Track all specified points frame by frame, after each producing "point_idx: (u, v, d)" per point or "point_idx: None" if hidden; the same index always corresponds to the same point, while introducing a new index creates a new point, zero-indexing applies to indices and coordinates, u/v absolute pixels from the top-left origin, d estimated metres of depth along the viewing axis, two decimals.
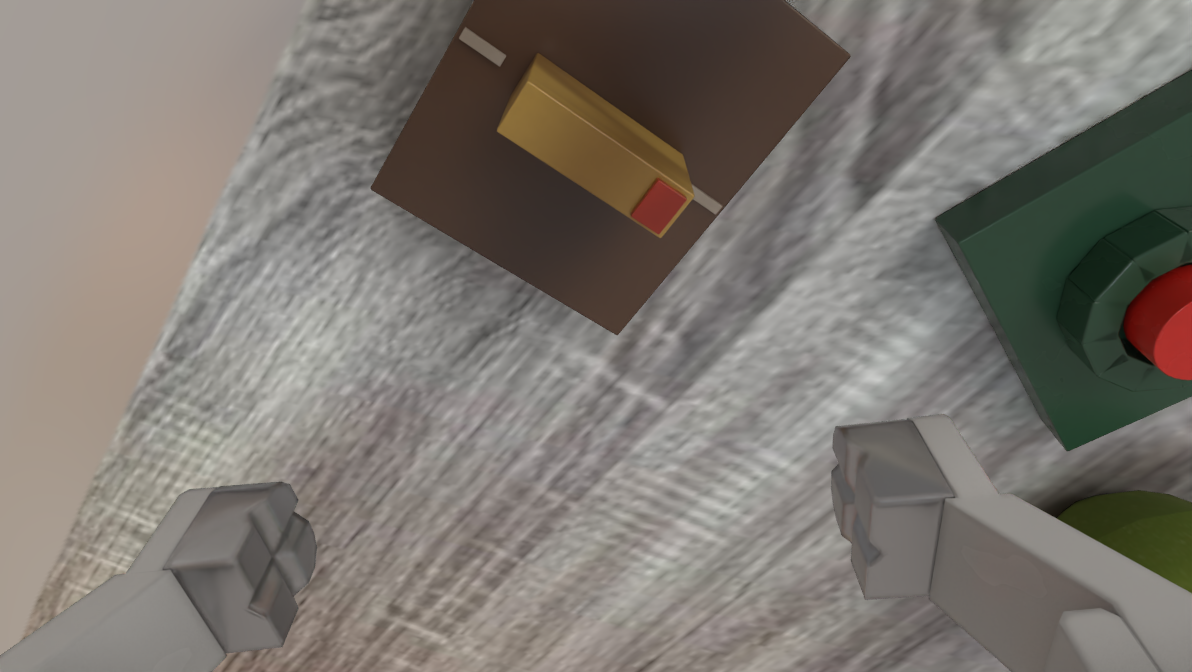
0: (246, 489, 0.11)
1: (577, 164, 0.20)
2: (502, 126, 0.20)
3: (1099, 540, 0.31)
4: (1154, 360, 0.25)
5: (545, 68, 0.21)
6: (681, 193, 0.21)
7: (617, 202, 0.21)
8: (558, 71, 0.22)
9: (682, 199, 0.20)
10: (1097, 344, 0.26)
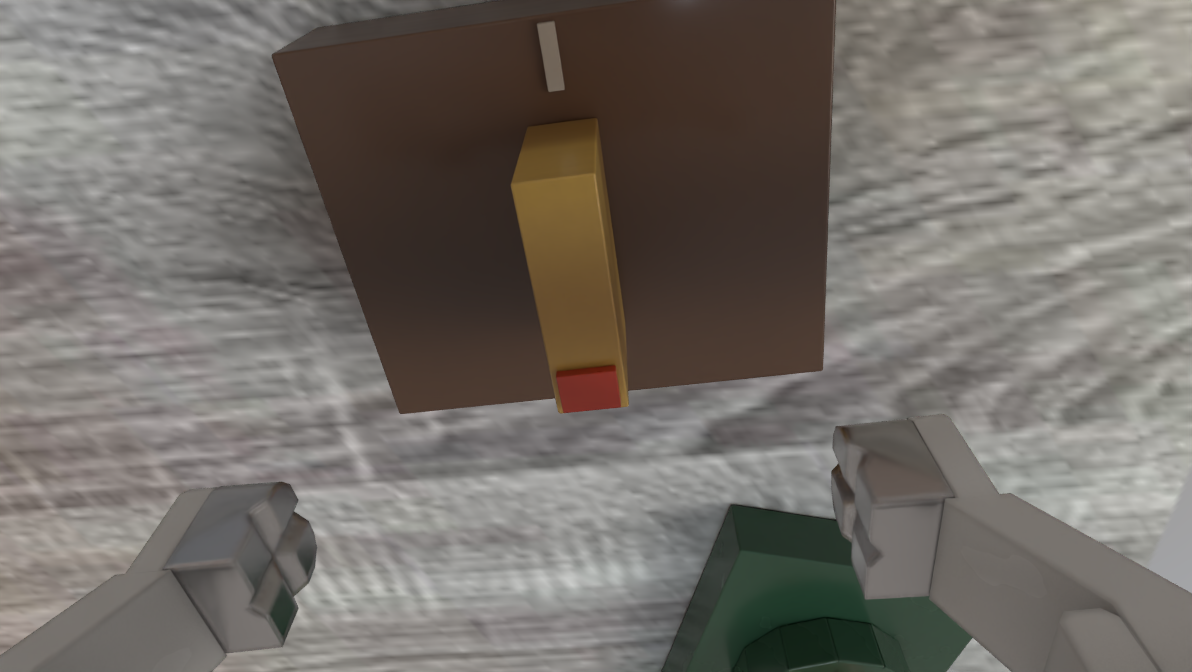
0: (246, 489, 0.11)
1: (556, 288, 0.15)
2: (521, 186, 0.14)
3: None
4: None
5: (599, 150, 0.16)
6: (620, 394, 0.16)
7: (555, 352, 0.16)
8: (601, 158, 0.16)
9: (617, 403, 0.16)
10: None
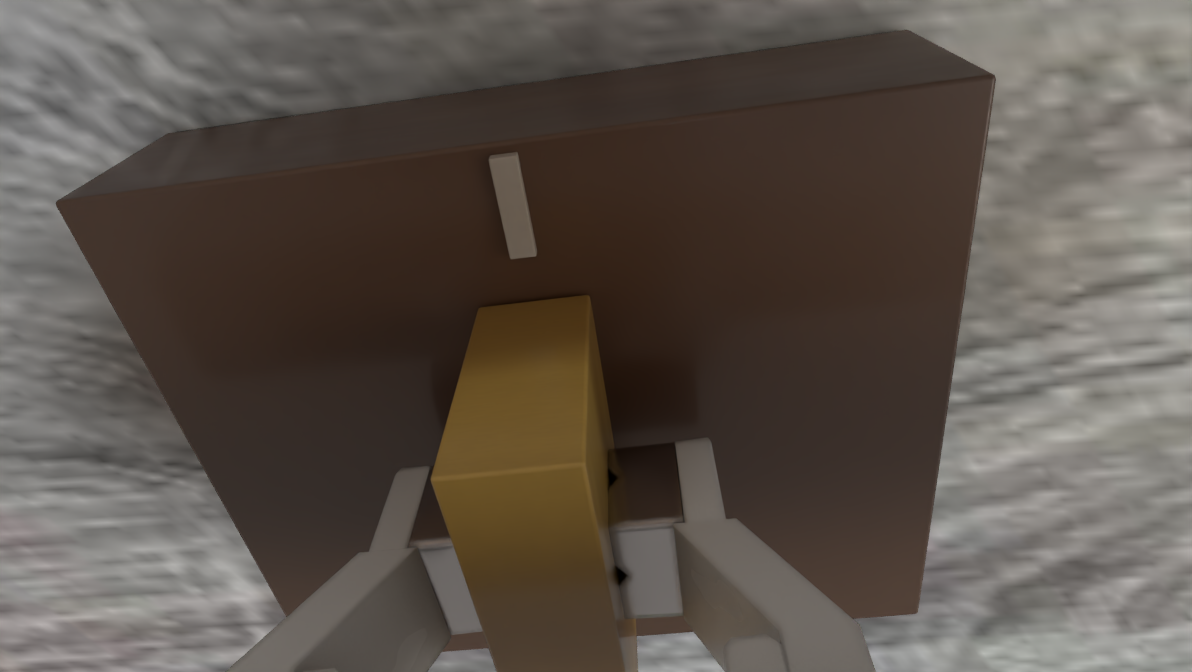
0: None
1: (520, 620, 0.09)
2: (450, 481, 0.07)
3: None
4: None
5: (592, 363, 0.09)
6: None
7: None
8: (596, 359, 0.10)
9: None
10: None
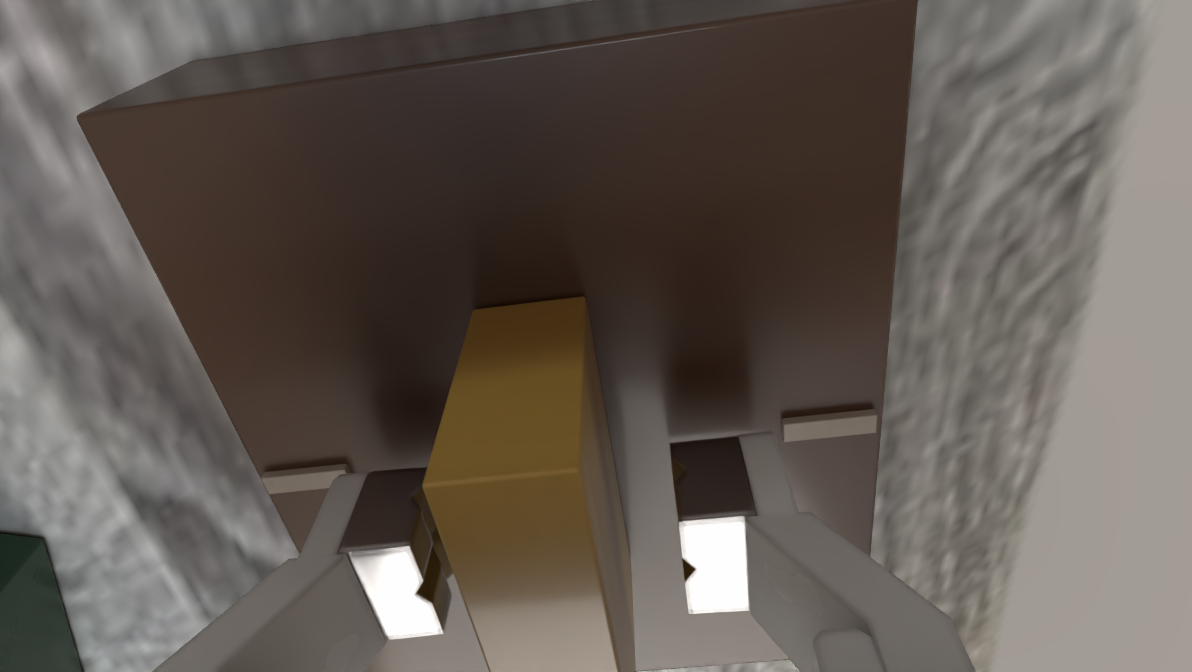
0: (403, 474, 0.10)
1: (515, 627, 0.09)
2: (443, 488, 0.07)
3: None
4: None
5: (588, 366, 0.09)
6: None
7: None
8: (593, 361, 0.10)
9: None
10: None
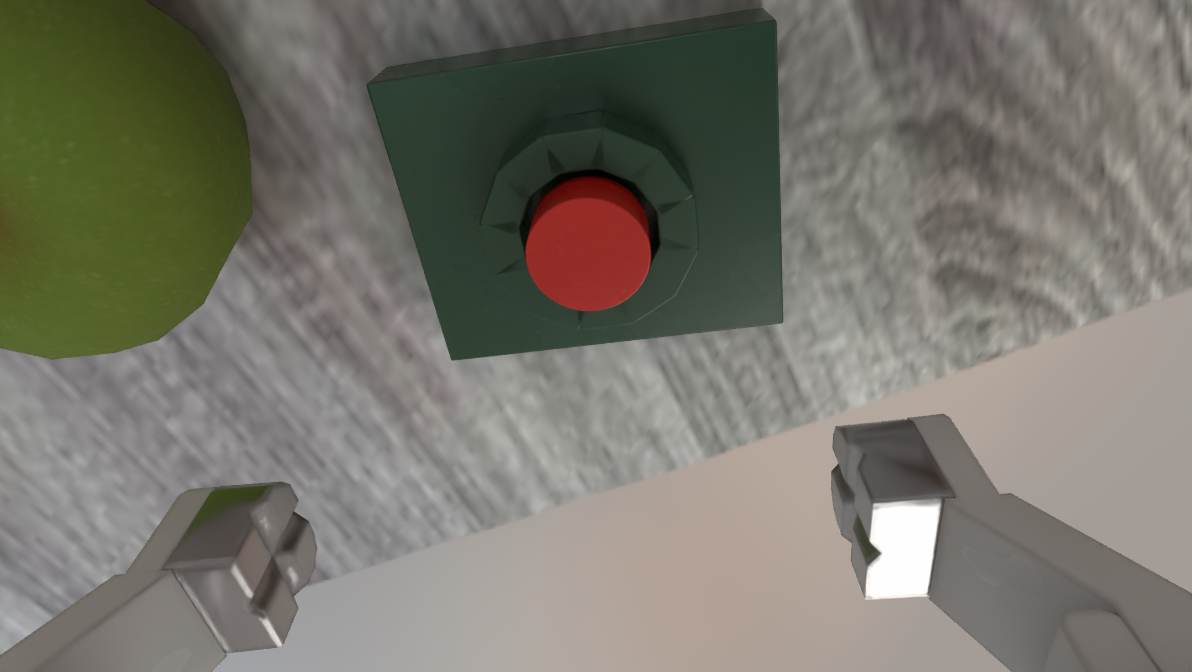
0: (246, 489, 0.11)
1: None
2: None
3: (219, 90, 0.20)
4: (579, 197, 0.20)
5: None
6: None
7: None
8: None
9: None
10: (594, 144, 0.21)
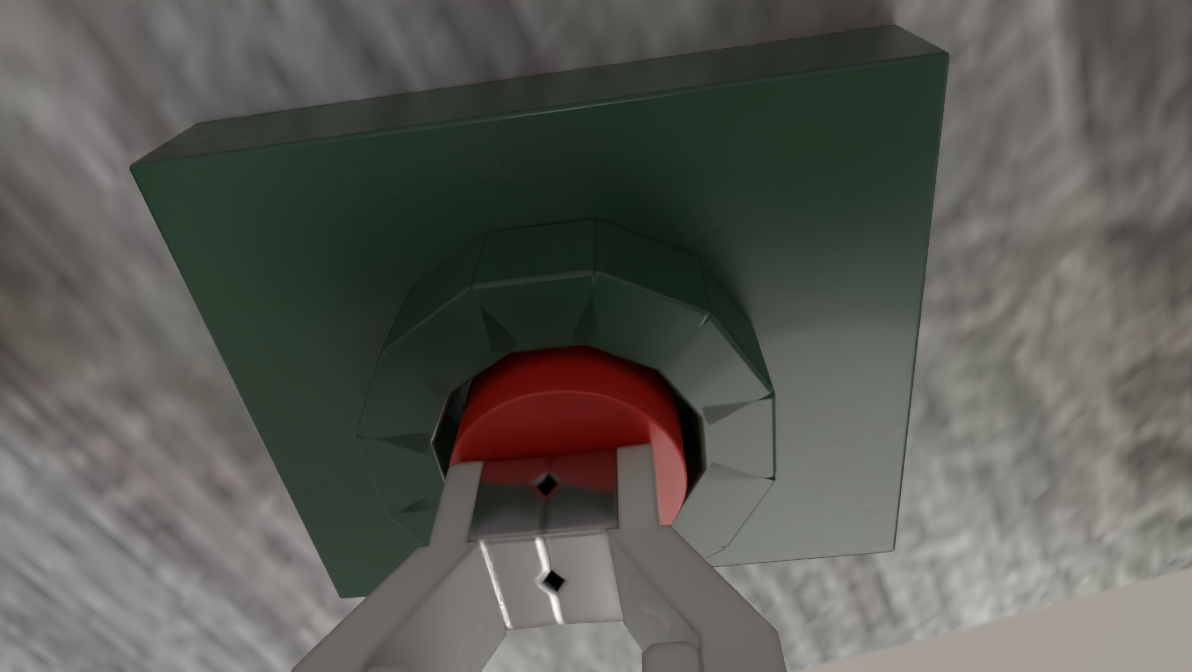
0: (521, 462, 0.10)
1: None
2: None
3: None
4: (551, 389, 0.10)
5: None
6: None
7: None
8: None
9: None
10: (578, 302, 0.10)
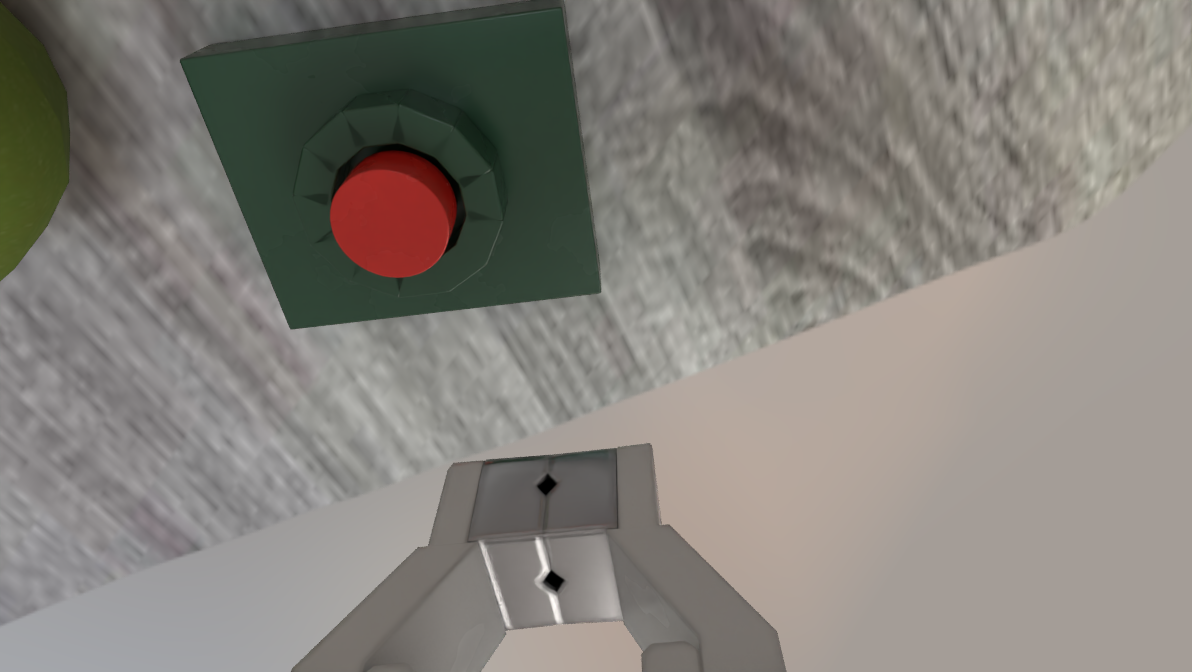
0: (521, 462, 0.10)
1: None
2: None
3: (22, 62, 0.21)
4: (375, 169, 0.22)
5: None
6: None
7: None
8: None
9: None
10: (392, 119, 0.22)
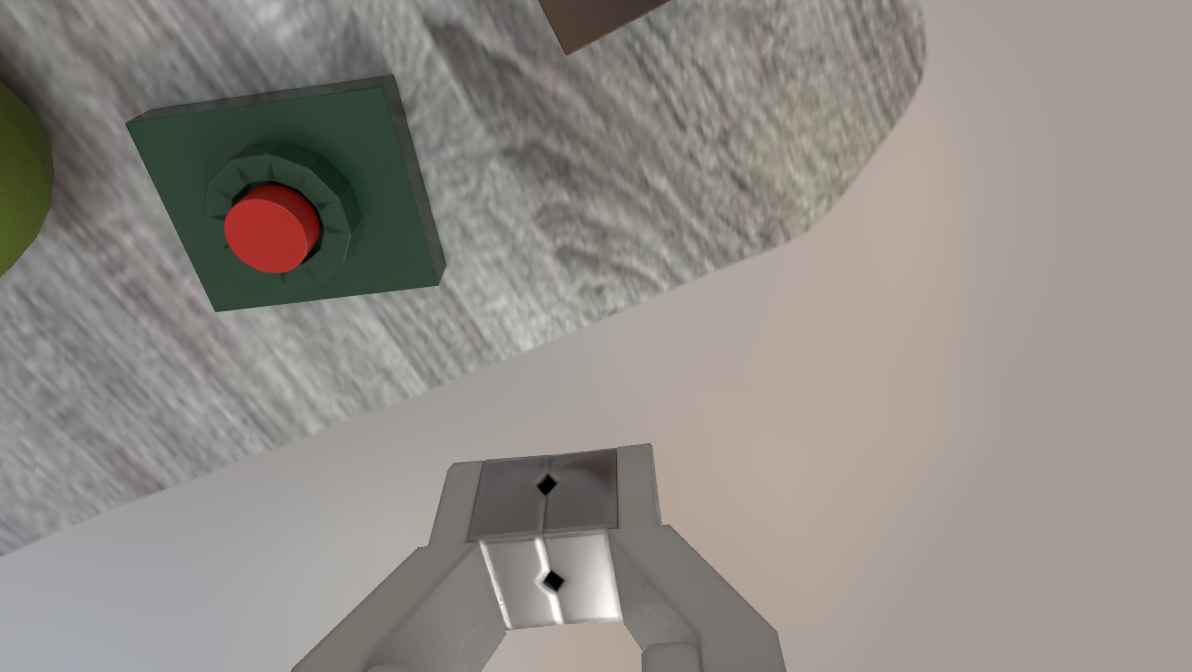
0: (520, 462, 0.10)
1: None
2: None
3: (17, 129, 0.31)
4: (252, 198, 0.32)
5: None
6: None
7: None
8: None
9: None
10: (266, 164, 0.32)
